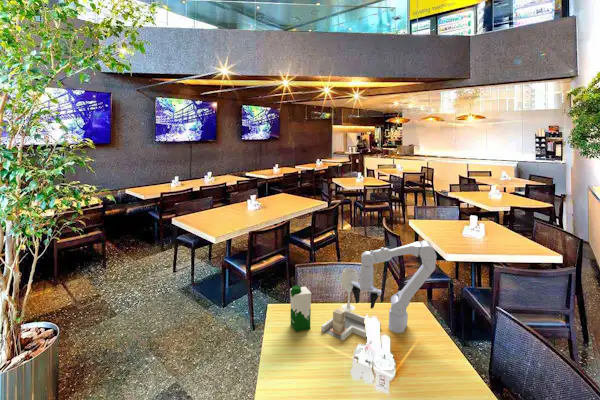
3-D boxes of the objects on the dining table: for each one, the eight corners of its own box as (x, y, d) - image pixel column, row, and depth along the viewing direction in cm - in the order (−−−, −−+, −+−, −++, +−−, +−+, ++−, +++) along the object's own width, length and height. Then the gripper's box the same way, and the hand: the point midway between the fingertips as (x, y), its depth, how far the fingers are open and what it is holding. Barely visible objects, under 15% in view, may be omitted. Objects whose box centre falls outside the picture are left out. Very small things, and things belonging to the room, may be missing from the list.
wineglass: (356, 305, 166) (357, 267, 163) (357, 313, 158) (359, 274, 154) (339, 304, 167) (340, 267, 164) (340, 312, 159) (341, 273, 155)
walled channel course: (343, 315, 156) (343, 309, 155) (380, 329, 144) (380, 322, 143) (321, 332, 141) (321, 325, 140) (360, 349, 129) (360, 342, 128)
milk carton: (288, 323, 148) (288, 284, 145) (305, 320, 151) (306, 281, 148) (294, 333, 140) (294, 292, 137) (313, 329, 143) (313, 288, 140)
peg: (337, 326, 145) (337, 308, 143) (344, 329, 142) (345, 310, 141) (332, 329, 141) (333, 311, 140) (340, 333, 139) (340, 314, 138)
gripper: (348, 275, 144) (346, 303, 147) (377, 284, 136) (375, 313, 138) (355, 271, 150) (354, 297, 152) (384, 279, 141) (382, 307, 143)
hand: (364, 305), depth 145 cm, fingers open, 7 cm apart
